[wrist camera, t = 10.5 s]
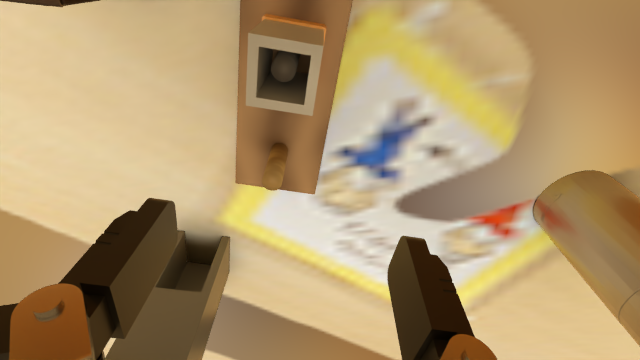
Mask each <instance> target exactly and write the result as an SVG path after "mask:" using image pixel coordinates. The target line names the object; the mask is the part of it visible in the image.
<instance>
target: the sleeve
mask: <svg viewBox="0 0 640 360" xmlns="http://www.w3.org/2000/svg"><path fill="white" fill-rule="evenodd" d="M325 35H326V26H325V24H320V23H315V22H309V21H304V20H298V19H293V18H287V17H281V16H276V15H270V14H265V15H264V16H263V17H262V22H260V23H259V24H258V25H257V26H256V27H255V28H253V29H252V30H251V31H250V32H249V33H248V54H247V81H246V106H252V107H259V108H265V109H271V110H278V111H284V112H290V113H297V114H303V115H309V116H313V110H314V104H315V97H316V91H317V85H318V79H319V73H320V67H321V60H322V54H323V48H324V41H325ZM273 49H276V50H282V51H288V52H293V53H299V54H305V55H311V61H310V68H309V74H306V73H300V72H296V73H295V76H294V77H293V79H292V80H290V81H288V82H281V81H278V80H277V79H276V78H275V77H274V76H273V74H272V72H271V65H272V58H273Z"/></svg>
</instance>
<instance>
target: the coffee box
mask: <svg viewBox="0 0 640 360" xmlns="http://www.w3.org/2000/svg"><path fill="white" fill-rule="evenodd" d="M0 1H9V2H17V3H25V4H35V5H44V6H56V7H63V6H66V5H72V4H79V3H85V2H93V1H99V0H0Z"/></svg>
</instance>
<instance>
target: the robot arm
mask: <svg viewBox="0 0 640 360" xmlns="http://www.w3.org/2000/svg"><path fill="white" fill-rule="evenodd" d="M533 215H534V218H535V220H536V222H537V223H538V224H539V225H540V227H541V228H542V229H543V230H544V231H545V233H546V234H547V235H548V236H549V238H550V239H551V240H552V241H553V242H554V244H555V245H556V246H557V248H558V249H559V250H560V251H561V252H562V254H563V255H564V256H565V257H566V258H567V260H568V261H569V262H570V263H571V264H572V266H573V267H574V268H575V269H576V270H577V272H578V273H579V274H580V275H581V277H582V278H583V279H584V280H585V281H586V283H587V284H588V285H589V286H590V287H591V289H592V290H593V291H594V292H595V293H596V295H597V296H598V297H599V298H600V299H601V301H602V302H603V303H604V304H605V305H606V307H607V308H608V309H609V310H610V311H611V313H612V314H613V315H614V316H615V317H616V319H617V320H618V321H619V322H620V324H622V326H623V327H624V328H625V329H626V330H627V332H628V333H629V334H630V335H631V337H632V338H633V339H634V340H635V341H636V343H637V344H638V345H639V346H640V198H639V197H638V196H636V195H635V194H634V193H632V192H631V191H630V190H628V189H627V188H626V187H624V186H623V185H621V184H620V183H619V182H617V181H616V180H615V179H613V178H612V177H611V176H609V175H608V174H605V173H603V172H600V171H581V172H576V173H573V174H570V175H567V176H565V177H563V178H561V179H559V180H557V181H555V182H554V183H552V184H551V185H550V186H548V187H547V188H546V189H545V190H544V191H543V192H542V193H541V195H540V196H539V197H538V199H537V201H536V203H535V205H534V209H533ZM177 239H178V231H177V221H176V211H175V204H174V202H173V201H168V200H161V199H154V198H149V199H147V200H146V201H145V203H144V204H143V205H142V206H141V207H140V209H139V210H138V211H128V212H126V213H125V214H123V215H121V216H120V217H118V218H116V219H115V220H114V221H113V222H112V223H111V224H110V225H109V227H108V228H107V229H106V230H105V231H104V234H102V235H101V236H100V237H99V238H98V239H97V240H96V243H95V244H93V245H92V246H91V247H90V248H89V250H88V251H87V252H86V253H85V254H84V255H83V256H82V258H81V259H80V260H79V261H78V262H77V263H76V264H75V265H74V267H73V268H72V269H71V270H70V271H69V272H68V274H67V275H66V276H65V277H64V278H63V279H62V280H61V282H59V283H58V284H54V285H50V286H46V287H43V288H41V289H39V290H36V291H34V292H33V293H31V294H30V295H28V296H27V297H25V298H24V299H23V300H22V301H21V302H20V303H17V304H10V305H3V306H0V360H105V356H104V352H103V349H104V348H105V346H106V344H107V343H108V341H109V339H110V338H119V339H125V338H126V336H127V334H128V332H129V330H130V329H131V327H132V325H133V323H134V322H135V320H136V318H137V316H138V314H139V313H140V311H141V309H142V307H143V306H144V304H145V302H146V300H147V298H148V297H149V295H150V293H151V291H152V290H153V288H154V286H155V284H156V282H157V281H158V279H159V277H160V275H161V274H162V272H163V270H164V268H165V266H166V265H167V263H168V261H169V259H170V258H171V256H172V254H173V252H174V250H175V247H176V244H177ZM388 285H389V291H390V296H391V301H392V307H393V312H394V318H395V323H396V328H397V334H398V339H399V344H400V350H401V355H402V360H497V358H496V356H495V355H494V353H493V352H492V351H491V350H490V349H489V347H488V346H486V345H485V344H484V343H483V342H482V341H480V340H478V339H477V338H475V336H474V334H473V332H472V329H471V326H470V324H469V321H468V319H467V316H466V314H465V311H464V309H463V306H462V304H461V301H460V299H459V296H458V294H456V289H455V286H454V284H453V283H452V278H451V276H450V273H449V271H448V268H447V267H446V265H445V264H444V263H443V262H442V261H441V260H440V258H439V257H438V256H437V255H431V254H430V252H429V249H428V247H427V244H426V241H425V240H424V239H422V238H415V237H408V236H402V237H401V238H400V240H399V242H398V245H397V247H396V250H395V252H394V255H393V257H392V259H391V262H390V264H389V268H388Z"/></svg>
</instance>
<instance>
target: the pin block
mask: <svg viewBox="0 0 640 360" xmlns="http://www.w3.org/2000/svg"><path fill="white" fill-rule="evenodd" d="M352 1H353V0H241V1H240V39H239V76H238V113H237V150H236V183H238V184H245V185H252V186H259V187H265V188H266V189H268V190H277V189H280V190H287V191H294V192H301V193H308V194H315V190H316V185H317V180H318V175H319V170H320V164H321V159H322V154H323V149H324V144H325V139H326V134H327V129H328V123H329V118H330V113H331V108H332V103H333V98H334V93H335V88H336V83H337V77H338V72H339V67H340V62H341V57H342V52H343V47H344V42H345V36H346V31H347V26H348V21H349V16H350V11H351V6H352ZM265 14H270V15H276V16H281V17H287V18H293V19H298V20H304V21H309V22H315V23H320V24H325V26H326V35H325V41H324V48H323V54H322V60H321V67H320V73H319V79H318V85H317V91H316V97H315V104H314V110H313V116H309V115H303V114H297V113H290V112H284V111H278V110H271V109H265V108H259V107H252V106H246V81H247V54H248V33H249V32H250V31H251V30H252V29H253V28H255V27H256V26H257V25H258V24H259V23H260V22H262V17H263V16H264V15H265ZM310 61H311V55H305V54H299V53H293V52H288V51H282V50H276V49H273V58H272V65H271V72H272V74H273V76H274V77H275V78H276V79H277V80H278V81H281V82H288V81H290V80H292V79H293V77H294V76H295V73H296V72H300V73H306V74H309V68H310Z"/></svg>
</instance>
